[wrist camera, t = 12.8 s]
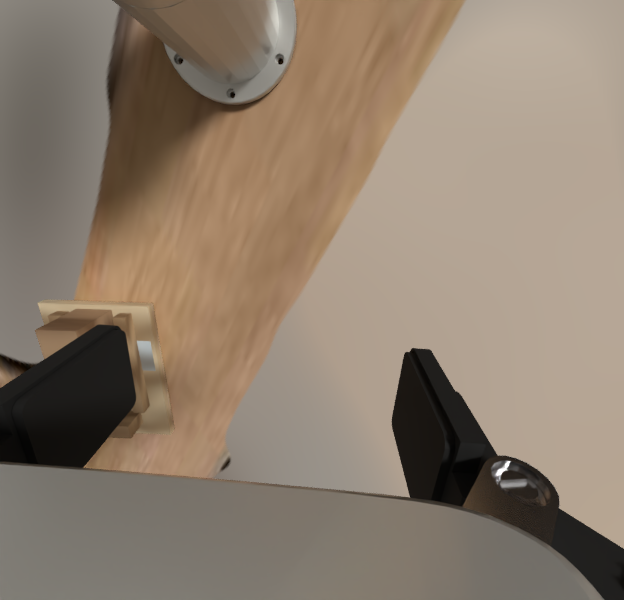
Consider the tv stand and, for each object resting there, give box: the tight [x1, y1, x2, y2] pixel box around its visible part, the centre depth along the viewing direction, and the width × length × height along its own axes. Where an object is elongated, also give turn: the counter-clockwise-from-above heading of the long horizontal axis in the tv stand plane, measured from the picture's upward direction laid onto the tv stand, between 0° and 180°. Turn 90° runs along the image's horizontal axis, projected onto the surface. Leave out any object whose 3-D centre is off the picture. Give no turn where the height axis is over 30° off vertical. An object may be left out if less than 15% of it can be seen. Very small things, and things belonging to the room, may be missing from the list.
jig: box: [38, 300, 175, 438], centre depth 42 cm, size 20×14×4 cm
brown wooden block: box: [35, 309, 113, 359], centre depth 39 cm, size 14×4×6 cm, turn 179°
